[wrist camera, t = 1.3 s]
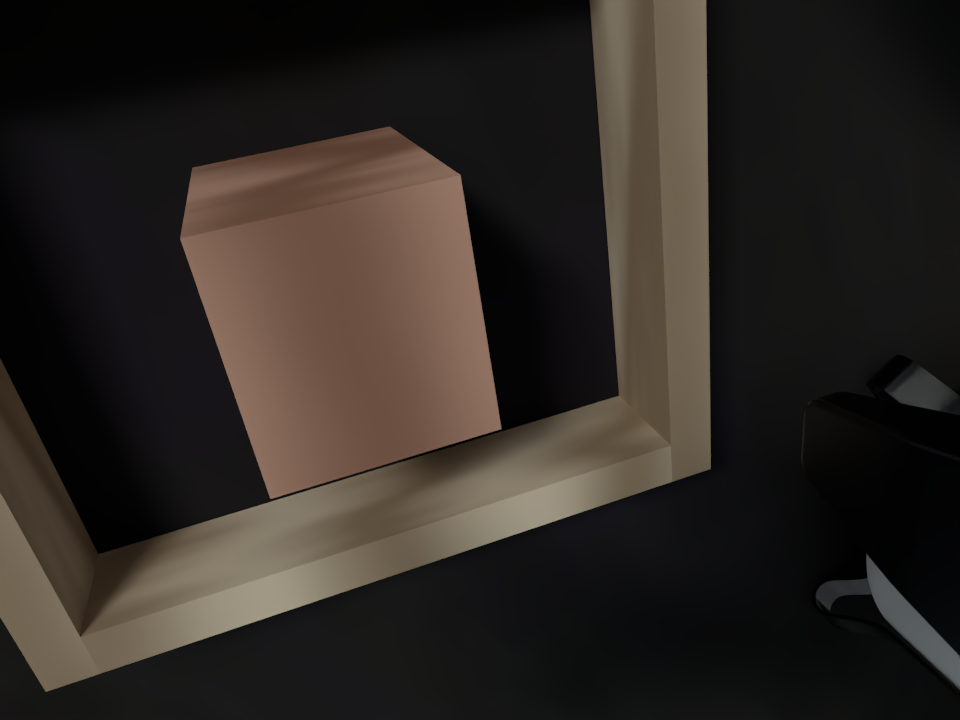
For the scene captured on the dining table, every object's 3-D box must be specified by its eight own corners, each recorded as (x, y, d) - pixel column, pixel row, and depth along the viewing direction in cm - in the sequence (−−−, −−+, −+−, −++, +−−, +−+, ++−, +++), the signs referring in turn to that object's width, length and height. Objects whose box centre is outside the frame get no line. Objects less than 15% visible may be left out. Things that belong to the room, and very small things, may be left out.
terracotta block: (389, 126, 18) (460, 175, 12) (428, 319, 20) (501, 429, 15) (192, 167, 17) (180, 238, 12) (256, 365, 19) (270, 499, 14)
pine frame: (627, -177, 16) (704, -211, 14) (656, 418, 24) (710, 468, 21) (-291, -53, 13) (-419, -69, 10) (68, 603, 20) (45, 691, 17)
